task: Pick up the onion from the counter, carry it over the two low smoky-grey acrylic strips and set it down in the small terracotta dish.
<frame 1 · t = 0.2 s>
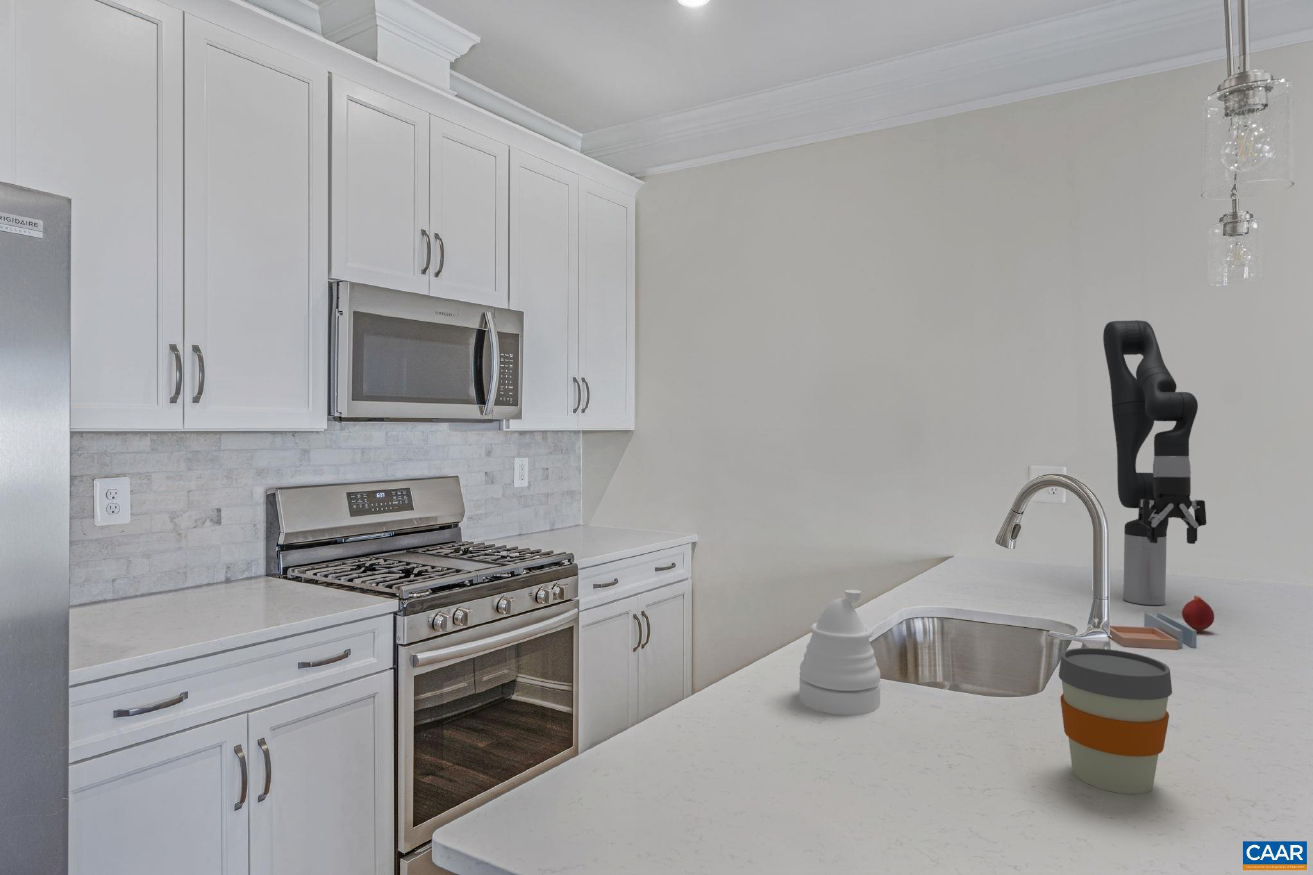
hand: (1172, 543, 187), 17 cm above the counter, tool pointing down, fingers open, 8 cm apart
honey pot: (839, 701, 128), on the counter
onion: (1197, 632, 173), on the counter
terracotta dish: (1139, 641, 165), on the counter
reusable coffee cup: (1111, 779, 101), on the counter
acrylic wall a: (1175, 637, 168), on the counter
acrylic wall b: (1162, 637, 168), on the counter
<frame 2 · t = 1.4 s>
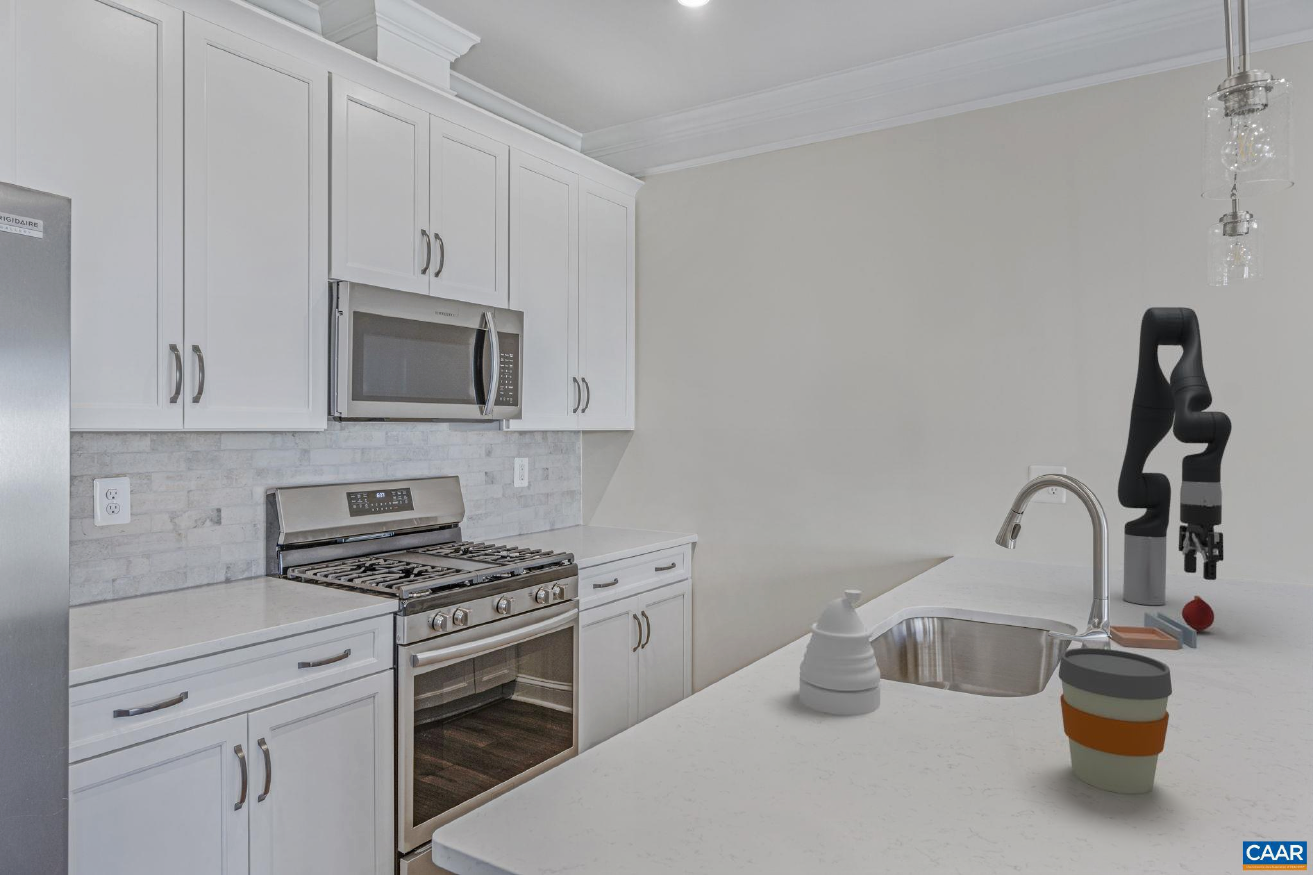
hand: (1199, 575, 173), 12 cm above the counter, tool pointing down, fingers open, 8 cm apart
nothing on the counter moved.
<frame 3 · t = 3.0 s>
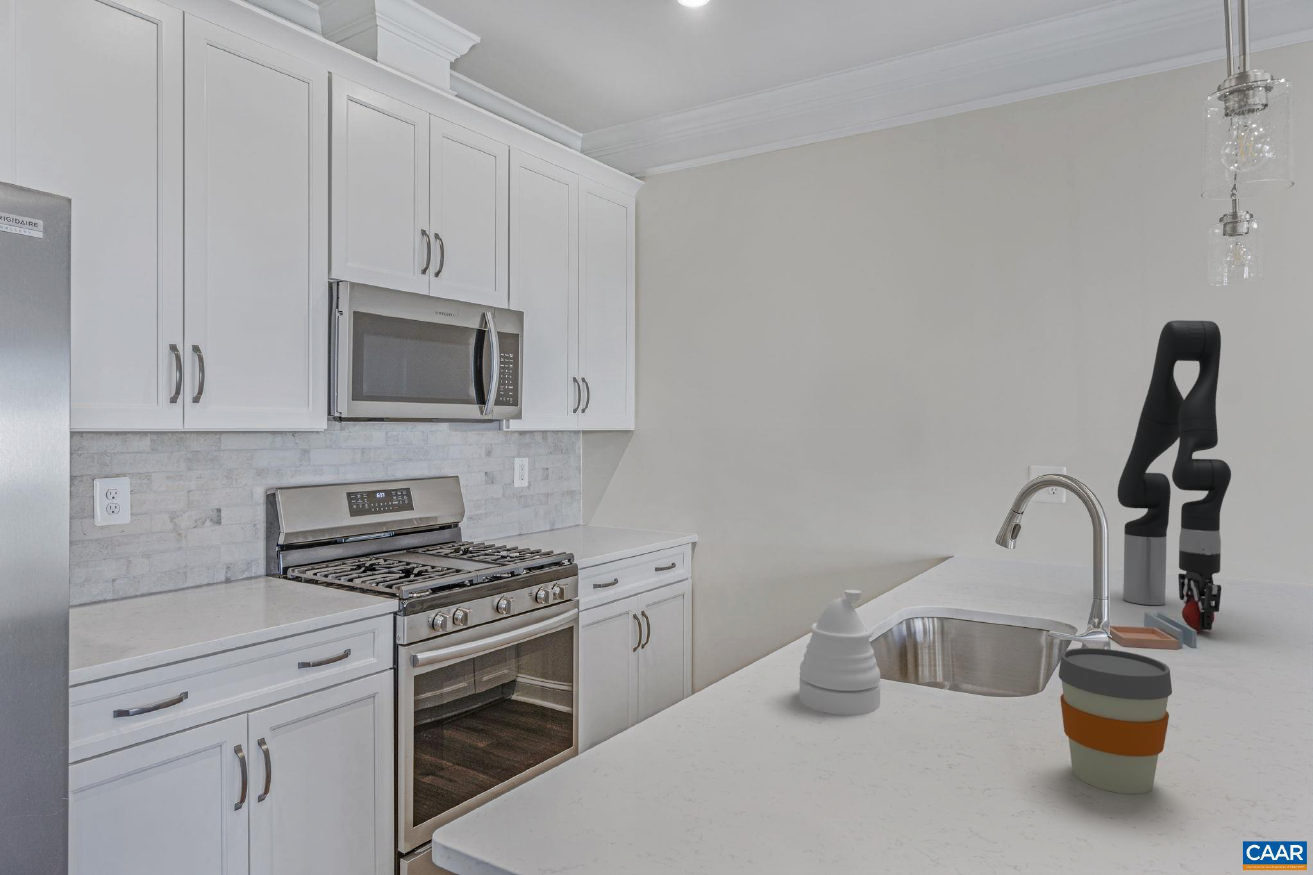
hand: (1198, 625, 173), 1 cm above the counter, tool pointing down, fingers closed on onion, 6 cm apart
onion: (1197, 632, 173), on the counter, touching gripper
everything else where it was.
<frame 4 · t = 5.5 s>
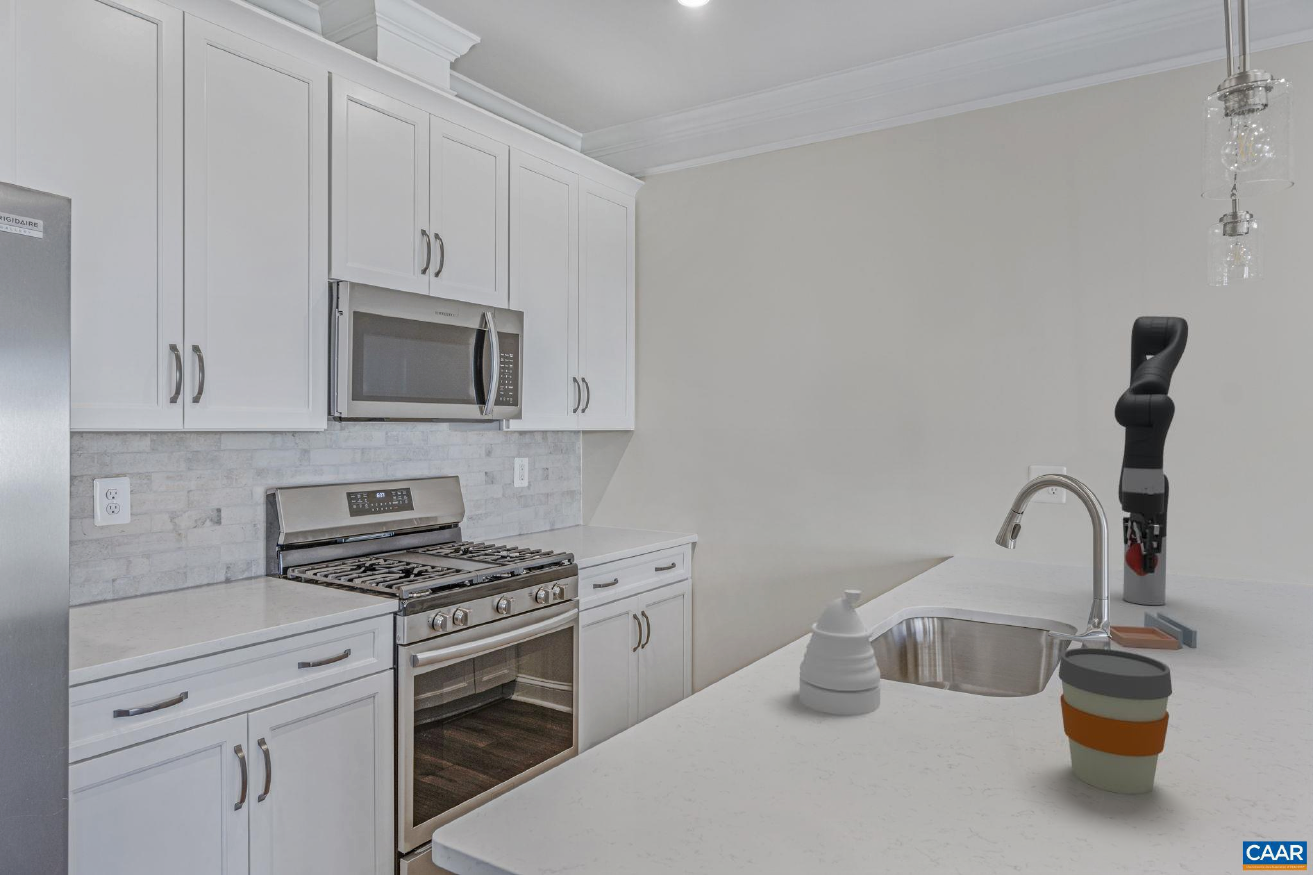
hand: (1141, 569, 165), 15 cm above the counter, tool pointing down, fingers closed on onion, 6 cm apart
onion: (1141, 577, 165), point 13 cm above the counter, touching gripper
everything else where it was.
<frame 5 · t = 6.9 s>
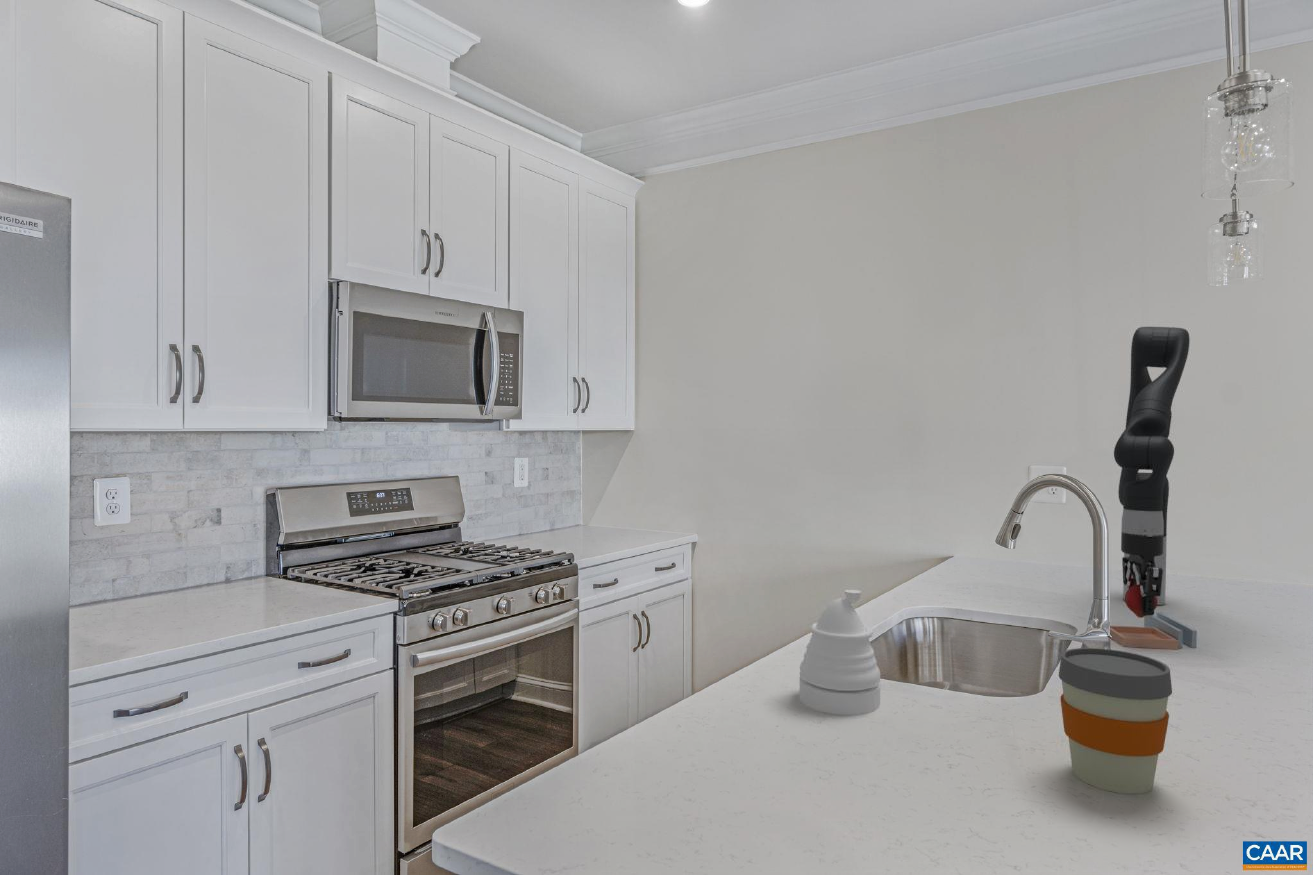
hand: (1140, 610, 165), 6 cm above the counter, tool pointing down, fingers closed on onion, 6 cm apart
onion: (1140, 618, 165), point 5 cm above the counter, touching gripper
everything else where it was.
when the fingers open (3 cm above the counter, at t = 8.0 s): onion drops 1 cm, resting on terracotta dish.
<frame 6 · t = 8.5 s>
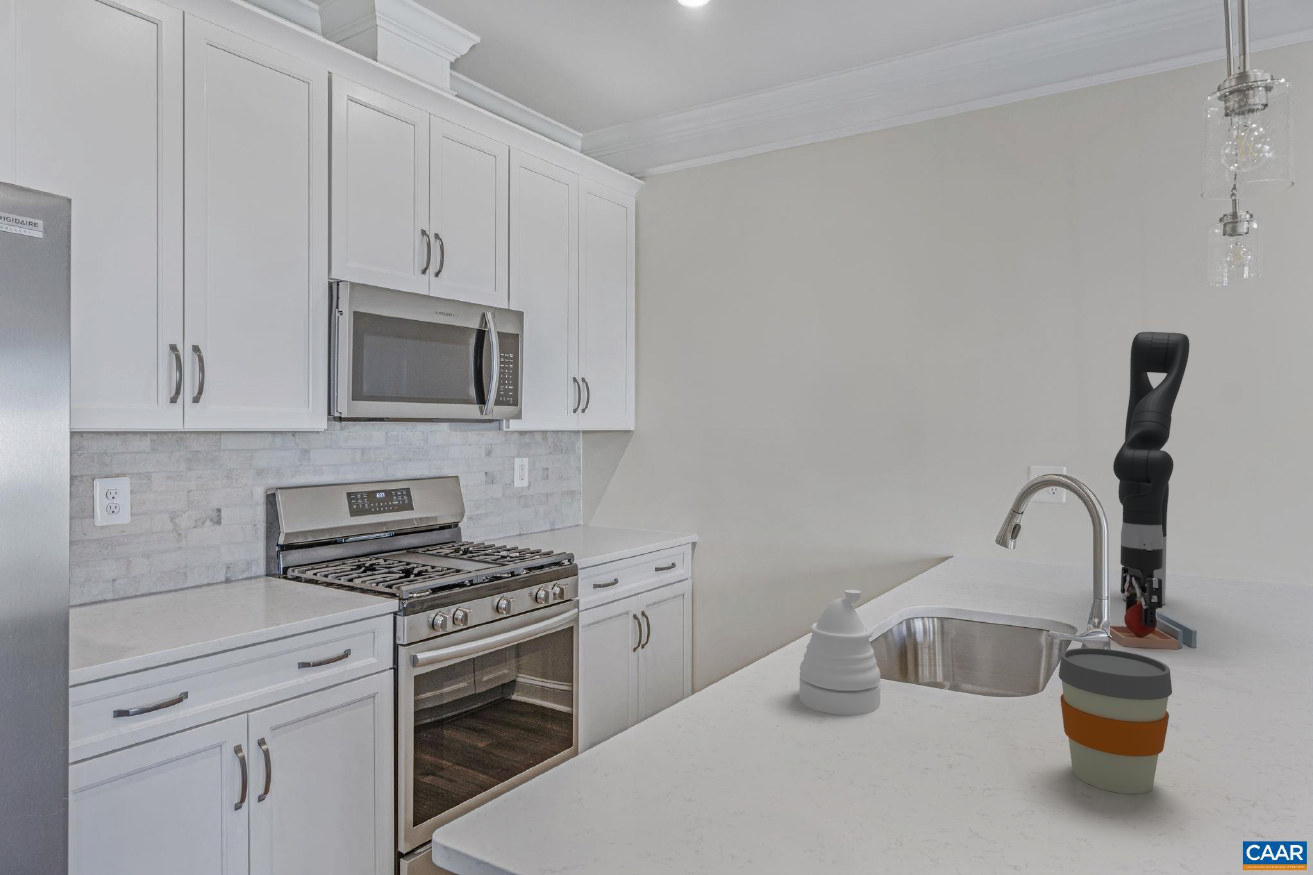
hand: (1140, 621, 165), 4 cm above the counter, tool pointing down, fingers open, 8 cm apart
onion: (1139, 638, 165), resting on terracotta dish
everything else where it was.
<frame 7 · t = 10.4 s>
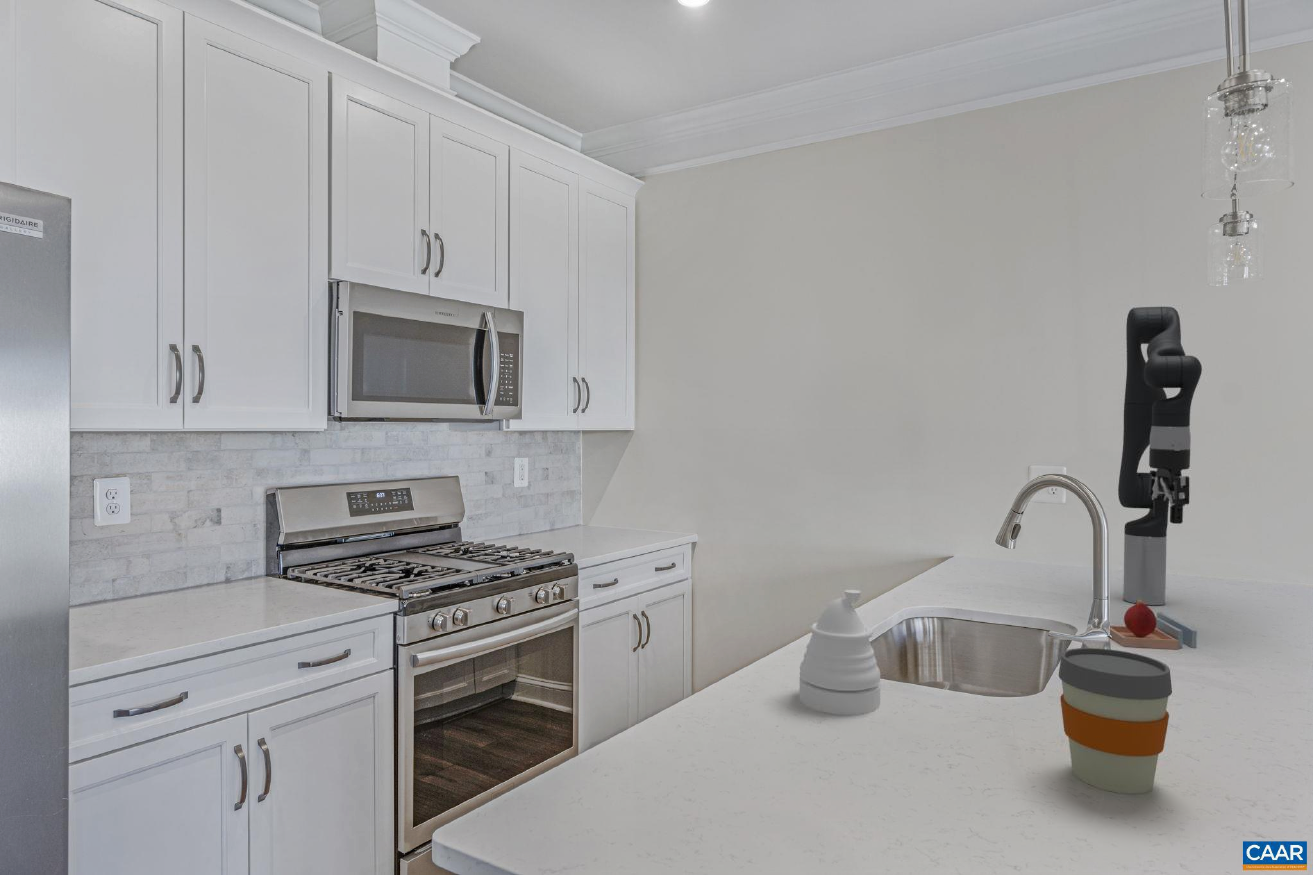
hand: (1167, 520, 174), 24 cm above the counter, tool pointing down, fingers open, 8 cm apart
nothing on the counter moved.
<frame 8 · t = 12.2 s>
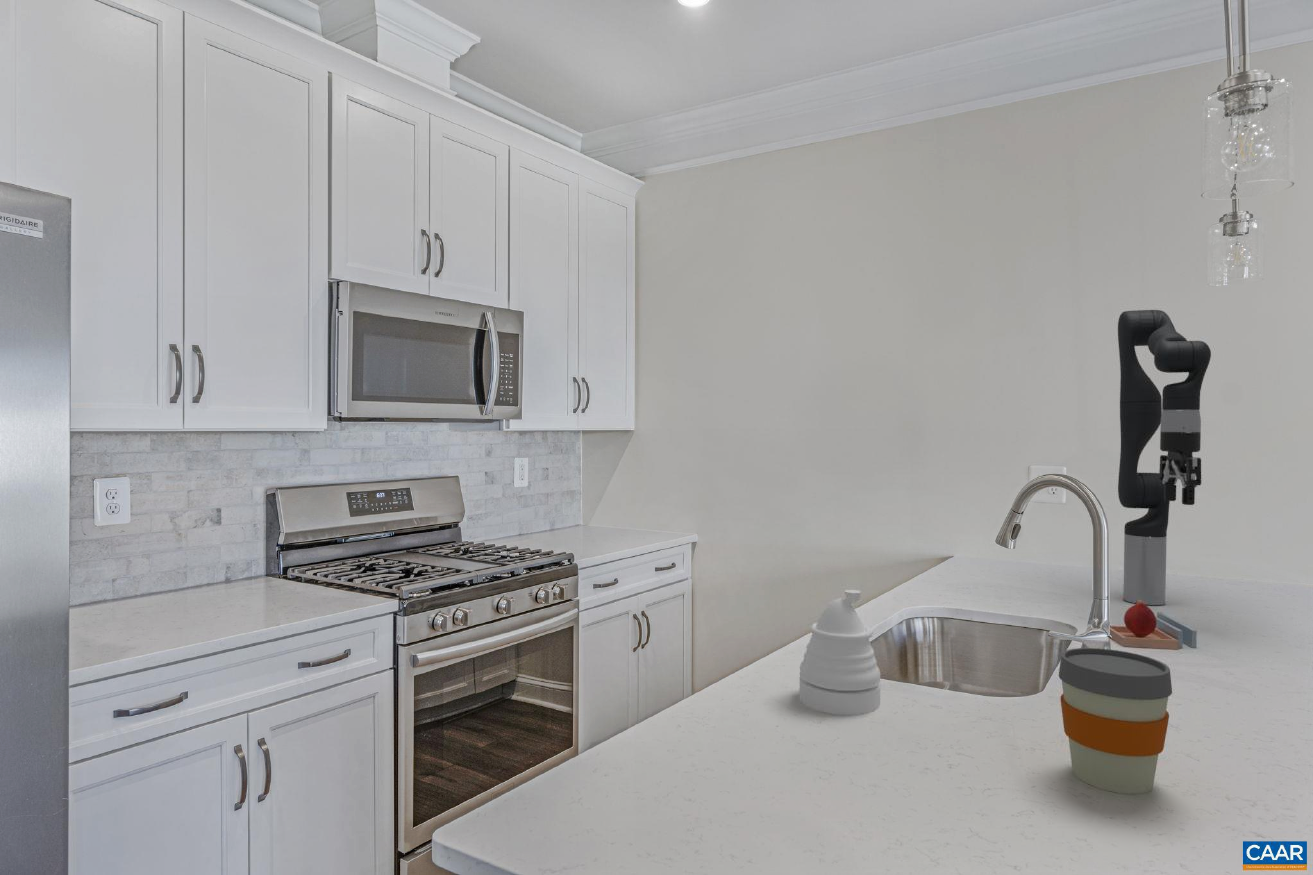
hand: (1178, 502, 176), 28 cm above the counter, tool pointing down, fingers open, 8 cm apart
nothing on the counter moved.
at the end: onion 0.2 cm from the terracotta dish (horizontally); onion resting on terracotta dish; the gripper is holding nothing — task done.
